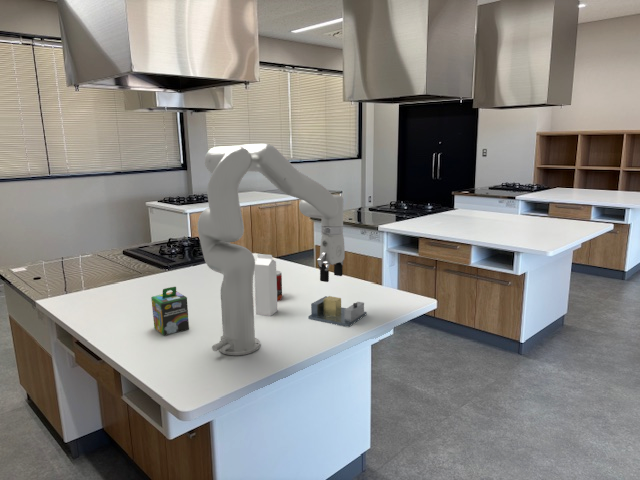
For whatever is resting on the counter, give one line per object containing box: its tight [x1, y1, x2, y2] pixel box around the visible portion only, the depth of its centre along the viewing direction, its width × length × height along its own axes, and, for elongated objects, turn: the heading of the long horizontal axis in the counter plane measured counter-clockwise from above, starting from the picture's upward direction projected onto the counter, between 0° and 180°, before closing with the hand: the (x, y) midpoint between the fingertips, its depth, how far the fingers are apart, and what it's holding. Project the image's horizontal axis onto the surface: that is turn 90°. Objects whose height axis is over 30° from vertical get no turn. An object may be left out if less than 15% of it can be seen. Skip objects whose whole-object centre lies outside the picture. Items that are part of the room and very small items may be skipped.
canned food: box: [276, 269, 283, 302], centre depth 187 cm, size 8×8×11 cm
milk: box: [253, 253, 278, 317], centre depth 170 cm, size 6×6×22 cm
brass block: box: [324, 295, 342, 316], centre depth 167 cm, size 4×5×6 cm
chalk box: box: [150, 286, 190, 337], centre depth 156 cm, size 9×9×15 cm
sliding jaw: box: [345, 301, 365, 322], centre depth 163 cm, size 10×2×5 cm, turn 149°
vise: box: [308, 296, 367, 327], centre depth 167 cm, size 14×16×5 cm
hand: (331, 278), depth 165 cm, fingers open, 9 cm apart
